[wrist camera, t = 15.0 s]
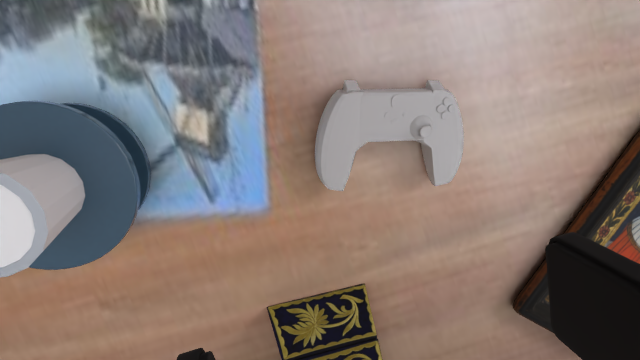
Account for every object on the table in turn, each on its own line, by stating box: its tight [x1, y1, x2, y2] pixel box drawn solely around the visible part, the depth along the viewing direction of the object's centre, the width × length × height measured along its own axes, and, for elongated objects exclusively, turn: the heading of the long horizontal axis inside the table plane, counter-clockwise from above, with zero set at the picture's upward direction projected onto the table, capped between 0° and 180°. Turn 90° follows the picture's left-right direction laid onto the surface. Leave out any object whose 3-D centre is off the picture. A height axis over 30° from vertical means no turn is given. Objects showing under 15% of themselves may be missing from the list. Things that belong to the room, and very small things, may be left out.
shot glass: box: [0, 154, 85, 277], centre depth 25 cm, size 7×7×7 cm
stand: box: [0, 101, 151, 270], centre depth 32 cm, size 13×13×6 cm
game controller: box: [315, 80, 464, 191], centre depth 36 cm, size 14×4×10 cm
